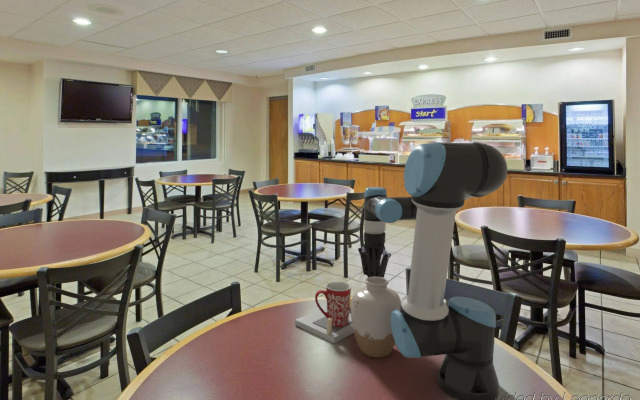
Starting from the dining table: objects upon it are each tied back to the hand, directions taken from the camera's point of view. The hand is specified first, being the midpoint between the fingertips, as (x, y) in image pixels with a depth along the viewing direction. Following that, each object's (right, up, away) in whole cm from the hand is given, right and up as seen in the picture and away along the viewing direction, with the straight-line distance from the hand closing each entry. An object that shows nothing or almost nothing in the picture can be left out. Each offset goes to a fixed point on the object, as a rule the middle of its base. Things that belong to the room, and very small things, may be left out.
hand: (373, 295), depth 137 cm
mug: (-14, -9, -3) cm, 17 cm away
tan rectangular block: (-7, -8, +7) cm, 12 cm away
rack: (-13, -10, +2) cm, 17 cm away
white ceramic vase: (-2, -13, -17) cm, 21 cm away
